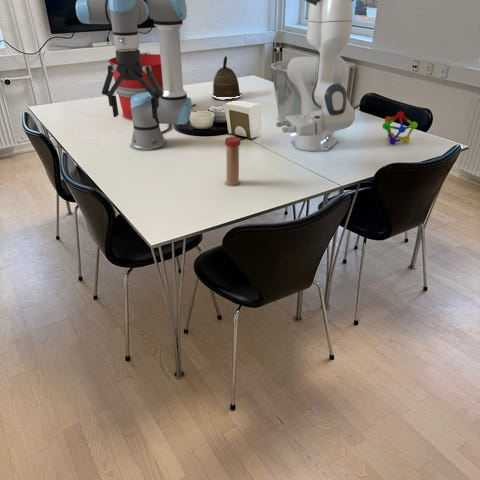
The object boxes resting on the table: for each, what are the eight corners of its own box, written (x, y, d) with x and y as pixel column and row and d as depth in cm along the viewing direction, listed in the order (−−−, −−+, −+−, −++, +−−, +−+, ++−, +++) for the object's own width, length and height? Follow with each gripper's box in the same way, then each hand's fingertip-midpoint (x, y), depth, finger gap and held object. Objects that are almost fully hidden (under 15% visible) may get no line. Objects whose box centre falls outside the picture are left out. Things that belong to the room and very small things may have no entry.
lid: (243, 145, 162) (243, 140, 161) (229, 147, 160) (229, 142, 159) (235, 140, 166) (235, 135, 165) (222, 143, 164) (222, 138, 163)
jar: (241, 184, 171) (241, 141, 161) (230, 186, 169) (230, 143, 159) (234, 179, 174) (234, 137, 165) (224, 182, 172) (223, 139, 163)
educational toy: (377, 146, 209) (379, 114, 202) (384, 138, 219) (386, 107, 211) (411, 149, 202) (415, 116, 195) (417, 141, 212) (420, 109, 204)
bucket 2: (296, 131, 225) (301, 73, 210) (257, 117, 244) (258, 64, 229) (334, 119, 242) (340, 65, 227) (294, 108, 260) (297, 57, 246)
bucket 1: (122, 105, 264) (115, 51, 248) (181, 105, 263) (177, 51, 248) (106, 122, 235) (96, 62, 219) (171, 123, 234) (167, 63, 218)
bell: (227, 105, 294) (202, 96, 282) (238, 66, 289) (213, 55, 277) (243, 108, 280) (217, 98, 268) (255, 66, 275) (229, 55, 263)
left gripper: (84, 50, 136) (95, 118, 148) (163, 52, 134) (168, 121, 145) (93, 46, 143) (104, 112, 154) (169, 48, 140) (174, 114, 152)
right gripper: (305, 109, 182) (272, 114, 181) (322, 119, 164) (286, 125, 163) (305, 124, 185) (273, 129, 184) (322, 136, 167) (287, 141, 166)
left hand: (135, 116), depth 150 cm, fingers open, 13 cm apart
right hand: (279, 127), depth 173 cm, fingers open, 8 cm apart
